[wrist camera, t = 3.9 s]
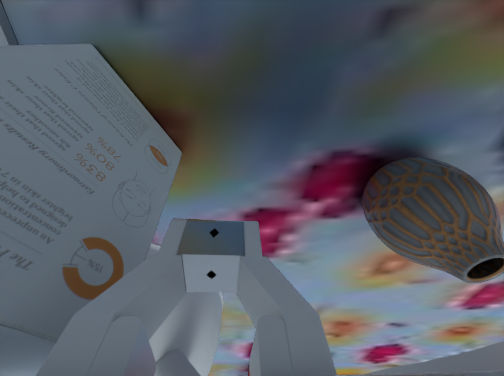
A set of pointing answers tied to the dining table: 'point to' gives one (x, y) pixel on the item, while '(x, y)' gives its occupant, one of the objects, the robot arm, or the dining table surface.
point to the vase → (436, 218)
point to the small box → (70, 191)
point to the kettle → (188, 333)
